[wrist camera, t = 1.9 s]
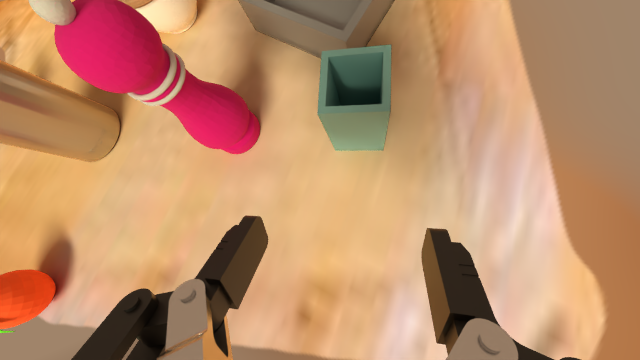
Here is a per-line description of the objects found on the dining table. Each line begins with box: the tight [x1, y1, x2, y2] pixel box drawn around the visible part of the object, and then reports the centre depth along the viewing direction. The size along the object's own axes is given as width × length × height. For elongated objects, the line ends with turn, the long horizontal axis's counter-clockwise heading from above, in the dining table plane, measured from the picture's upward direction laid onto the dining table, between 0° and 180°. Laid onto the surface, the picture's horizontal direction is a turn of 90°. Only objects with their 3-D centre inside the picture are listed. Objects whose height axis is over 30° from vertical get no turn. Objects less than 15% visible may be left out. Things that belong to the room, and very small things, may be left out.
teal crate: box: [318, 45, 391, 151], centre depth 23 cm, size 6×6×10 cm
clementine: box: [0, 270, 56, 333], centre depth 30 cm, size 8×7×7 cm
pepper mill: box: [29, 0, 260, 154], centre depth 22 cm, size 7×7×20 cm
